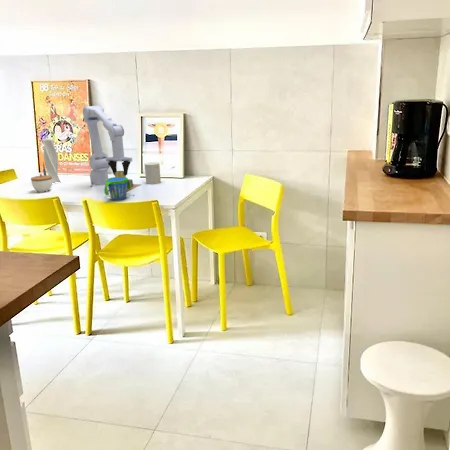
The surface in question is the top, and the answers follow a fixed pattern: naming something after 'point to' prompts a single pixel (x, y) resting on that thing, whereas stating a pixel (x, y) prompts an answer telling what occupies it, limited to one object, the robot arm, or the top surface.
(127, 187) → the snack cup
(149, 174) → the cup
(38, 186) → the lidded jar
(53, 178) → the skyscraper
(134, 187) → the gear board
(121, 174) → the brass gear
